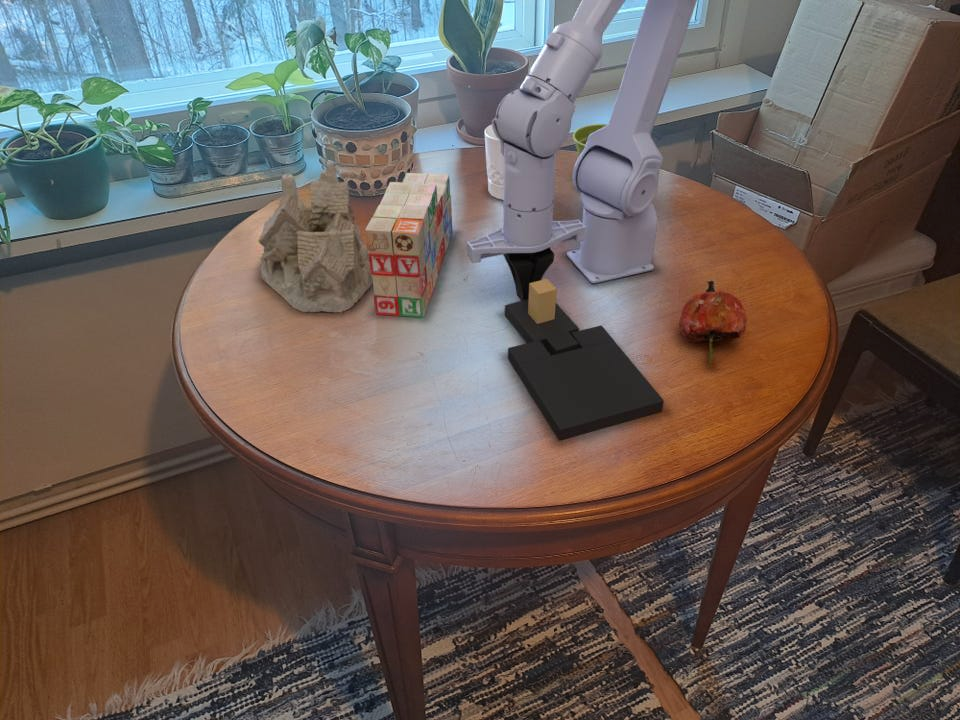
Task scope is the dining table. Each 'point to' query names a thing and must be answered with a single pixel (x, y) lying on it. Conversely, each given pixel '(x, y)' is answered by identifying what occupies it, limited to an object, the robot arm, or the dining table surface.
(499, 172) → the white cup
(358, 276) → the ceramic cottage
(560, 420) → the big pad
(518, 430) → the dining table surface
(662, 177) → the dining table surface
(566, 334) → the small pad
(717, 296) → the pomegranate
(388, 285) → the stack of blocks
